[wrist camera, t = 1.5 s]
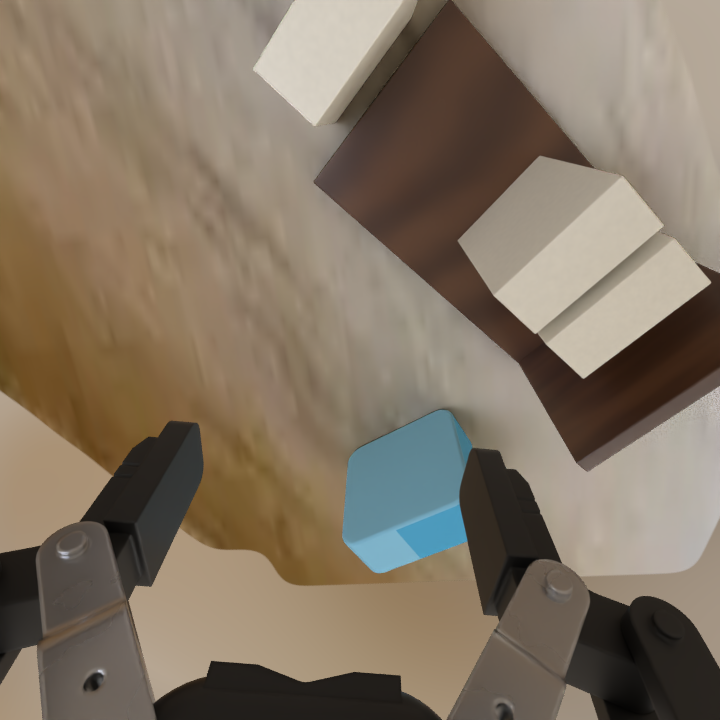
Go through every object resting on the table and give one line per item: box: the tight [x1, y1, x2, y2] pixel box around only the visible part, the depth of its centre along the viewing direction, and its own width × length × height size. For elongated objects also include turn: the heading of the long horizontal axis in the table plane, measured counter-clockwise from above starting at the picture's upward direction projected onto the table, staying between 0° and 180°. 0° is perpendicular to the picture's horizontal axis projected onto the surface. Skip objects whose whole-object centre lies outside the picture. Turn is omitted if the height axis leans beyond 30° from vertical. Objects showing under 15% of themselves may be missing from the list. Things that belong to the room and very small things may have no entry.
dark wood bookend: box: [314, 0, 720, 472], centre depth 28 cm, size 25×14×14 cm, turn 50°
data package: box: [342, 410, 472, 573], centre depth 40 cm, size 12×4×12 cm, turn 123°
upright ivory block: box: [253, 0, 418, 126], centre depth 24 cm, size 4×8×12 cm, turn 139°
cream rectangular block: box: [458, 156, 664, 334], centre depth 28 cm, size 4×8×12 cm, turn 140°
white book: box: [537, 231, 711, 379], centre depth 29 cm, size 4×8×12 cm, turn 140°
